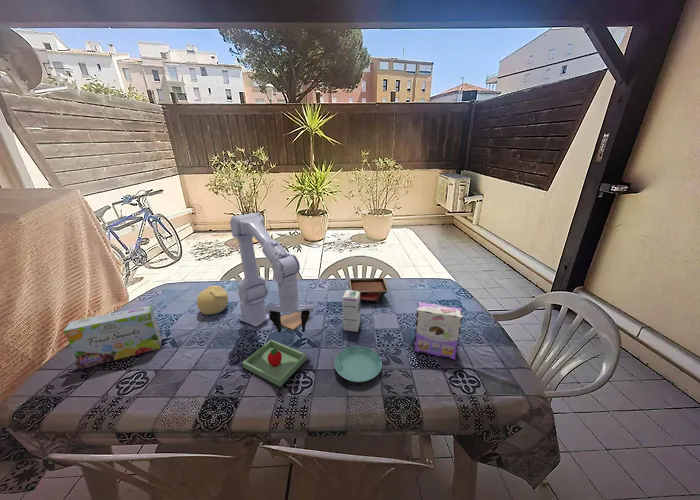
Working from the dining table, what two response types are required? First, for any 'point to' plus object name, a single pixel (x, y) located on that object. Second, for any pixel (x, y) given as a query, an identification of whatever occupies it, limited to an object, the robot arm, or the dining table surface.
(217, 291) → the sculpture
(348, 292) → the syrup box
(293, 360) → the tray
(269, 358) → the strawberry
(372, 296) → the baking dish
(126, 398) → the dining table surface
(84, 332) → the snack box
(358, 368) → the saucer
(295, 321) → the board
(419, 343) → the candy box
